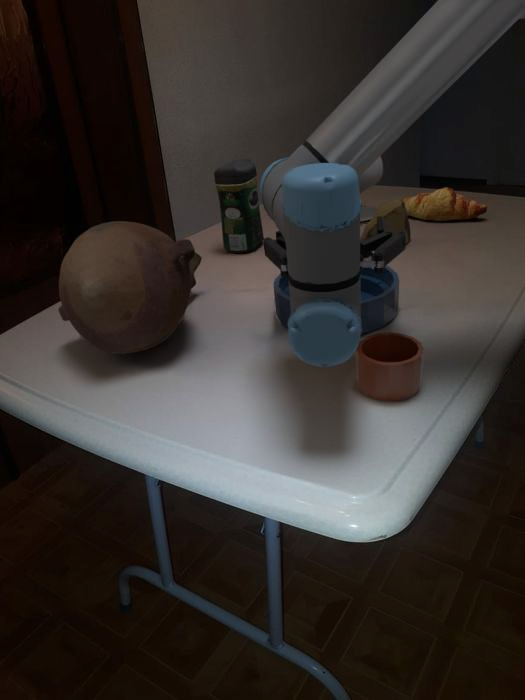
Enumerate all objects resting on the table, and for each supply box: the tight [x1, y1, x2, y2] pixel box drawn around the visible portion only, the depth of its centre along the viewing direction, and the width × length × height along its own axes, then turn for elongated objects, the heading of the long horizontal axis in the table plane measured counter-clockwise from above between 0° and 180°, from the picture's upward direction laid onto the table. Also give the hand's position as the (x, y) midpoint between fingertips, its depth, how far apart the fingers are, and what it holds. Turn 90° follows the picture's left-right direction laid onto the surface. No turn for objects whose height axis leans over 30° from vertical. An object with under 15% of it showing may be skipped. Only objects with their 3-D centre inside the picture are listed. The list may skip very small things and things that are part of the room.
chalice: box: [358, 155, 384, 222], centre depth 133 cm, size 14×14×15 cm
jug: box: [58, 220, 203, 354], centre depth 89 cm, size 20×20×30 cm
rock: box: [360, 198, 412, 245], centre depth 117 cm, size 11×9×10 cm
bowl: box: [273, 264, 400, 335], centre depth 90 cm, size 20×20×6 cm
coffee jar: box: [213, 158, 265, 254], centre depth 120 cm, size 10×8×19 cm
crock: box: [355, 331, 425, 402], centre depth 70 cm, size 8×8×6 cm
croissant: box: [403, 186, 488, 222], centre depth 129 cm, size 21×10×8 cm, turn 59°
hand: (335, 226), depth 87 cm, fingers open, 13 cm apart
